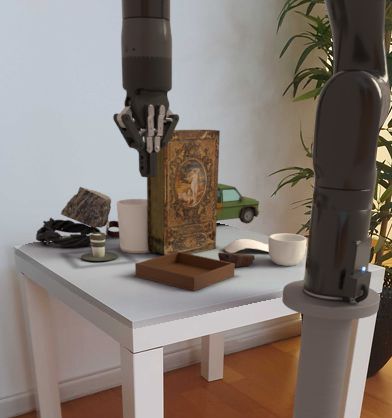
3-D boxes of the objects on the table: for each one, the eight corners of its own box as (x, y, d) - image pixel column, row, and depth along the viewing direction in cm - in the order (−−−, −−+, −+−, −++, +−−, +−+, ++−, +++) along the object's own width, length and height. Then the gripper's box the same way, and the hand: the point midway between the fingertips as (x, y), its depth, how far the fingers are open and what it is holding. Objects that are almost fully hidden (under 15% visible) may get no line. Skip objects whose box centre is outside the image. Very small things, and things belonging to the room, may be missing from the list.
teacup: (308, 268, 112) (311, 241, 110) (271, 268, 112) (273, 241, 109) (296, 255, 121) (298, 231, 119) (262, 255, 121) (263, 231, 119)
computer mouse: (276, 257, 120) (276, 244, 119) (221, 255, 123) (221, 243, 121) (279, 247, 128) (280, 235, 127) (228, 246, 130) (228, 234, 129)
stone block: (69, 181, 124) (57, 213, 125) (106, 199, 124) (93, 231, 126) (85, 185, 137) (74, 214, 139) (118, 201, 138) (107, 229, 139)
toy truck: (261, 223, 154) (263, 185, 150) (195, 230, 144) (195, 191, 140) (238, 216, 163) (240, 180, 159) (174, 223, 153) (174, 185, 149)
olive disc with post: (135, 260, 114) (134, 236, 112) (77, 266, 109) (75, 241, 107) (116, 248, 124) (116, 225, 122) (63, 252, 119) (61, 229, 117)
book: (202, 243, 131) (205, 129, 121) (219, 247, 127) (223, 130, 117) (147, 253, 120) (145, 130, 110) (163, 258, 117) (163, 131, 107)
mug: (146, 255, 119) (145, 206, 115) (110, 250, 122) (108, 203, 118) (169, 245, 128) (169, 199, 124) (136, 241, 131) (135, 196, 127)
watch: (107, 230, 141) (104, 216, 139) (125, 227, 141) (123, 214, 139) (105, 241, 134) (102, 227, 132) (124, 238, 134) (121, 224, 132)
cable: (53, 231, 139) (51, 213, 138) (108, 234, 139) (107, 216, 137) (31, 246, 123) (29, 227, 122) (93, 249, 123) (92, 229, 121)
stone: (212, 265, 112) (212, 250, 111) (232, 259, 118) (233, 244, 116) (238, 272, 109) (240, 256, 107) (258, 265, 114) (260, 250, 113)
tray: (234, 276, 106) (234, 263, 105) (194, 291, 97) (194, 277, 96) (177, 263, 113) (177, 251, 112) (135, 276, 104) (135, 263, 103)
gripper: (133, 51, 76) (136, 182, 83) (194, 58, 85) (192, 175, 92) (96, 53, 80) (102, 178, 87) (158, 60, 89) (158, 172, 96)
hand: (148, 176), depth 90 cm, fingers closed
